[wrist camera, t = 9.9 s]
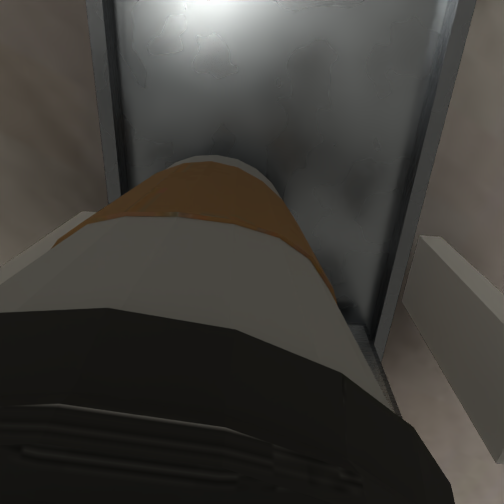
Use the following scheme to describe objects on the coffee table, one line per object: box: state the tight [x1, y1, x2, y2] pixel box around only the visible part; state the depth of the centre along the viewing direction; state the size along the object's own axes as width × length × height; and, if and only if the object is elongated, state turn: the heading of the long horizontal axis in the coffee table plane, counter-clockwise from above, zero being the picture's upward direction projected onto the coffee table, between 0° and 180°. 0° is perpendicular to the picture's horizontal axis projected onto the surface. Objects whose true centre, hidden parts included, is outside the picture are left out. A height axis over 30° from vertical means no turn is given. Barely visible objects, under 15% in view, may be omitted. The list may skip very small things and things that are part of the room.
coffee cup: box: [0, 155, 455, 504], centre depth 10 cm, size 8×8×15 cm
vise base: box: [86, 0, 476, 418], centre depth 13 cm, size 26×14×10 cm, turn 177°
